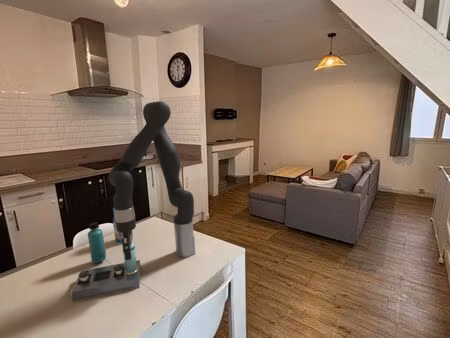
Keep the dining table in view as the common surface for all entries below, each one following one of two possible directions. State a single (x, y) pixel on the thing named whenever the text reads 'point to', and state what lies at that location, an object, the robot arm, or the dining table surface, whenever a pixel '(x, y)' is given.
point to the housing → (105, 282)
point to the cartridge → (131, 264)
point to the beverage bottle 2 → (117, 234)
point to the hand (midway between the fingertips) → (129, 254)
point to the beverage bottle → (96, 243)
